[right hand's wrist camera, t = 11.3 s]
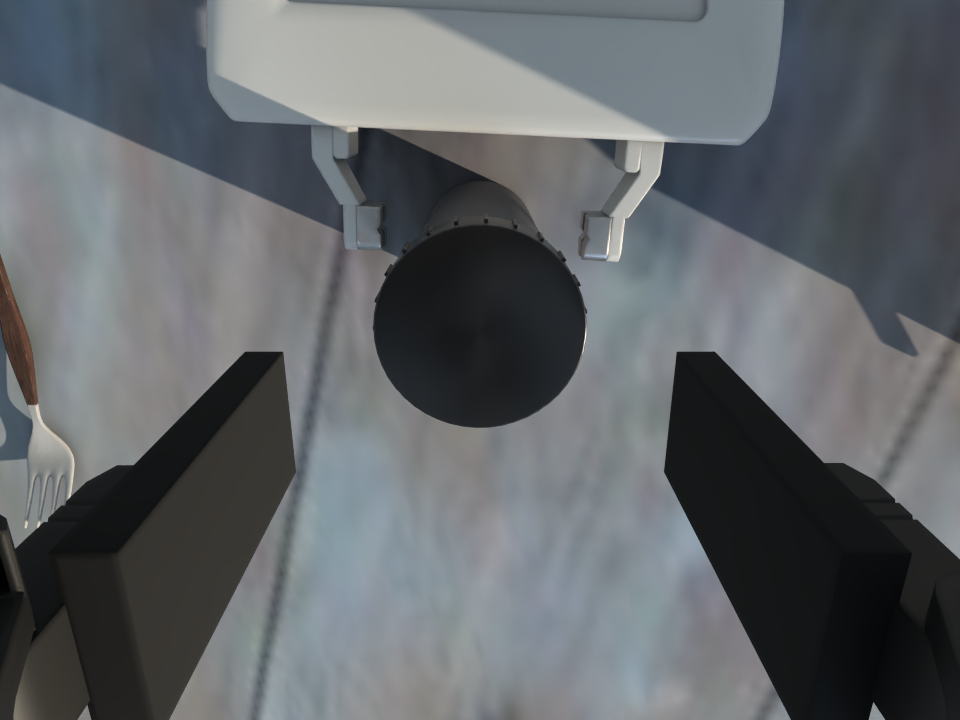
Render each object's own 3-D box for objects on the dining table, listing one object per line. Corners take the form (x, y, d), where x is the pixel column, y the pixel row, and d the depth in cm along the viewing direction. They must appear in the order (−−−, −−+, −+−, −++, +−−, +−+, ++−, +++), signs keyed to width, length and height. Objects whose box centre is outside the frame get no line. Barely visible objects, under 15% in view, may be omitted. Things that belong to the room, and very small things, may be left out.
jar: (414, 193, 33) (364, 256, 19) (522, 169, 33) (555, 214, 18) (440, 297, 35) (412, 427, 20) (542, 275, 35) (587, 392, 20)
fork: (23, 232, 34) (-4, 240, 32) (87, 509, 39) (67, 529, 37) (-29, 232, 34) (-60, 240, 32) (42, 508, 39) (20, 528, 37)
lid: (353, 238, 20) (343, 248, 18) (562, 191, 19) (569, 198, 18) (407, 424, 22) (401, 447, 20) (596, 386, 21) (605, 407, 20)
